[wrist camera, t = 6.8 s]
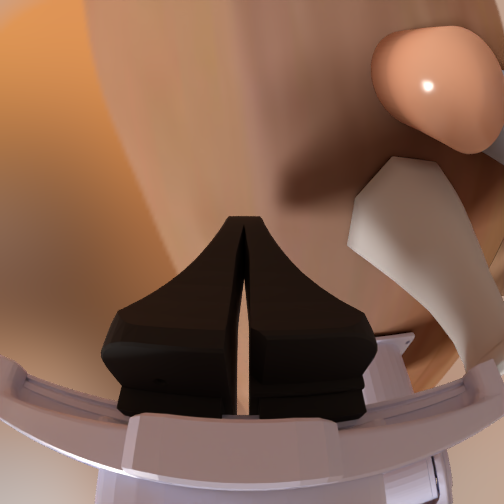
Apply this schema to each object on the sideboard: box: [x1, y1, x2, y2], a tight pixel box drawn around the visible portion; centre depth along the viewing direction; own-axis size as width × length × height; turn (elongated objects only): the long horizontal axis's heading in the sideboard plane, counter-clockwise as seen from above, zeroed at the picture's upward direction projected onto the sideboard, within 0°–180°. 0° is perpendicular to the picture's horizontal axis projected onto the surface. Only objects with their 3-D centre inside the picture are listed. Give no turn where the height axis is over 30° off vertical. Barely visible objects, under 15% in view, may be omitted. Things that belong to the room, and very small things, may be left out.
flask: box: [347, 156, 504, 376], centre depth 9 cm, size 7×7×10 cm
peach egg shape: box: [371, 26, 504, 154], centre depth 7 cm, size 5×5×4 cm
